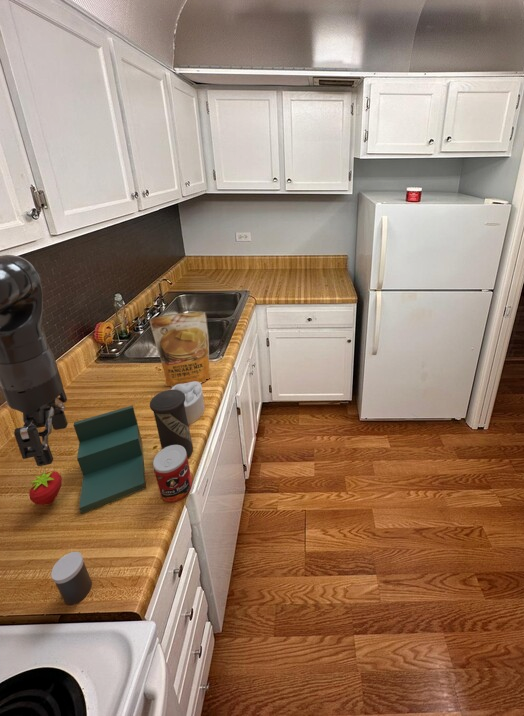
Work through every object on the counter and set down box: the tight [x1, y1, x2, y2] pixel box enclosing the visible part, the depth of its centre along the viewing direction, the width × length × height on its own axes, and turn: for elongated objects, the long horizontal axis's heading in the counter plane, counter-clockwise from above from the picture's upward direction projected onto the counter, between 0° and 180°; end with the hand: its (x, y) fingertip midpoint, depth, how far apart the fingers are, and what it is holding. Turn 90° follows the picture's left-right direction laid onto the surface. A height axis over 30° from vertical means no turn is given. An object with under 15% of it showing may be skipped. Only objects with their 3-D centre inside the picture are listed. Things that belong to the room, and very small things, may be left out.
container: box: [149, 389, 194, 459], centre depth 92 cm, size 9×9×20 cm
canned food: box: [152, 445, 193, 503], centre depth 83 cm, size 8×8×11 cm
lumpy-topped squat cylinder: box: [170, 381, 206, 426], centre depth 110 cm, size 10×13×9 cm
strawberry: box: [28, 470, 63, 506], centre depth 80 cm, size 6×8×10 cm
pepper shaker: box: [50, 551, 93, 606], centre depth 64 cm, size 5×5×8 cm
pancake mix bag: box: [148, 310, 212, 388], centre depth 122 cm, size 7×19×28 cm, turn 107°
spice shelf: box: [73, 404, 147, 514], centre depth 87 cm, size 14×17×14 cm
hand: (53, 444), depth 62 cm, fingers open, 8 cm apart
